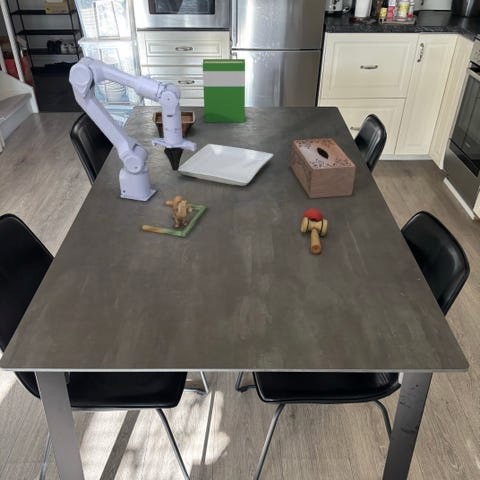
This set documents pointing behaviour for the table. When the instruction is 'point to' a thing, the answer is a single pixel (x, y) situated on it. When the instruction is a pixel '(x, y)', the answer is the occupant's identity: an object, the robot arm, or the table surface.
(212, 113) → the hardback book
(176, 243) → the table surface
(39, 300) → the table surface
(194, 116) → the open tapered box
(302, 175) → the tissue box cover
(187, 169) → the square plate
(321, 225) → the kendama
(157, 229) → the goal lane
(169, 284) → the table surface
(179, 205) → the lion figurine
